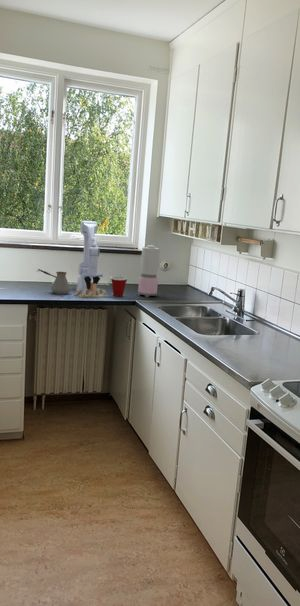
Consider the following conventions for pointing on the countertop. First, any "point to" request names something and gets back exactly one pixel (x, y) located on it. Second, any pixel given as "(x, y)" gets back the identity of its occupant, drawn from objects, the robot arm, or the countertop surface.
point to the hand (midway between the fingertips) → (91, 288)
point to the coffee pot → (59, 283)
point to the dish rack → (90, 293)
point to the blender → (148, 271)
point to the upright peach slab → (92, 288)
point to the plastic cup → (118, 285)
